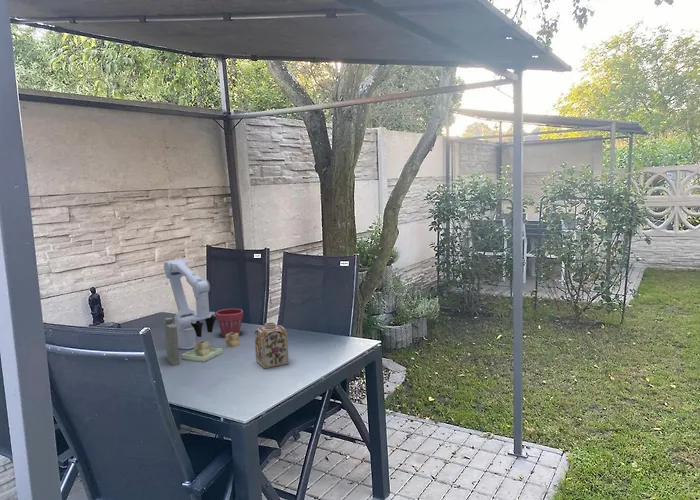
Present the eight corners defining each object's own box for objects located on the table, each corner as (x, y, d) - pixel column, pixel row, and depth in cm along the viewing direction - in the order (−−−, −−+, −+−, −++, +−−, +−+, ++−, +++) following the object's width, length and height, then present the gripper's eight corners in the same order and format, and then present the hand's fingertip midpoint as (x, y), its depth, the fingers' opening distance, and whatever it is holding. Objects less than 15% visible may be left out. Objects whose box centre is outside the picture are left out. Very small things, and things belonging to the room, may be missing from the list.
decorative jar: (263, 369, 221) (261, 328, 219) (255, 361, 232) (252, 322, 229) (289, 364, 227) (287, 324, 225) (280, 356, 237) (278, 318, 235)
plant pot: (250, 332, 279) (248, 309, 277) (231, 339, 267) (229, 315, 265) (230, 329, 286) (229, 307, 285) (211, 336, 275) (209, 313, 273)
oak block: (226, 346, 256) (225, 334, 255) (231, 344, 260) (231, 332, 259) (233, 347, 254) (233, 335, 253) (239, 344, 258) (238, 332, 257)
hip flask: (180, 364, 232) (176, 321, 229) (170, 366, 230) (167, 322, 228) (173, 355, 246) (170, 313, 243) (165, 356, 244) (161, 315, 241)
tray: (181, 359, 239) (181, 354, 239) (200, 350, 251) (200, 346, 251) (204, 362, 234) (204, 357, 233) (222, 353, 246) (222, 348, 245)
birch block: (195, 356, 241) (194, 343, 240) (202, 353, 245) (201, 340, 244) (203, 356, 239) (202, 344, 238) (209, 353, 243) (208, 341, 243)
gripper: (198, 310, 235) (201, 339, 237) (219, 303, 248) (221, 330, 250) (186, 309, 238) (189, 338, 240) (207, 302, 251) (209, 329, 253)
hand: (204, 334), depth 245 cm, fingers open, 7 cm apart
